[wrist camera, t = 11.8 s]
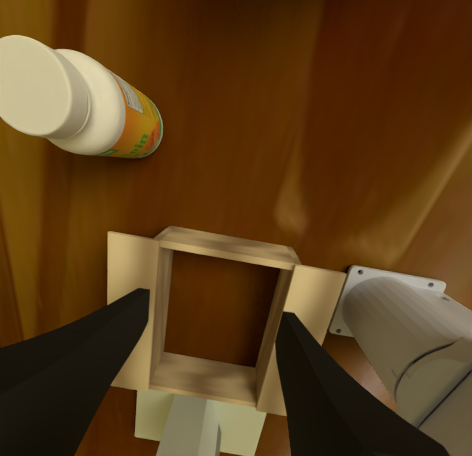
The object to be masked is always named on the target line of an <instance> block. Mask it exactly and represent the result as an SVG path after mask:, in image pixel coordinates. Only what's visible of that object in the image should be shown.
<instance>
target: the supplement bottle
mask: <svg viewBox="0 0 472 456" xmlns="http://www.w3.org/2000/svg"><path fill="white" fill-rule="evenodd" d="M0 117H1V118H2V119H3V120H4V121H5V122H6V123H8V124H9V125H10V126H12V127H13V128H15V129H16V130H18V131H20V132H23V133H25V134H28V135H32V136H38V137H43V138H47V139H48V140H49V141H51V142H52V143H53V144H55V145H56V146H58V147H60V148H61V149H64V150H66V151H69V152H72V153H76V154H82V155H94V156H109V157H122V158H142V157H146V156H148V155H150V154H151V153H152V152H154V151H155V150H156V148H157V147H158V146H159V144H160V142H161V139H162V134H163V123H162V119H161V116H160V113H159V111H158V109H157V108H156V106H155V105H154V103H153V102H152V101H151V100H150V99H149V98H148V97H146V96H145V95H144V94H142V93H141V92H140V91H138V90H137V89H135V88H134V87H133V86H131V85H130V84H128V83H127V82H125V81H124V80H123V79H121V78H120V77H118V76H117V75H115V74H114V73H113V72H111V71H110V70H108V69H107V68H106V67H104V66H103V65H101V64H100V63H98V62H97V61H95V60H94V59H92V58H90V57H89V56H87V55H85V54H83V53H80V52H77V51H73V50H68V49H58V50H53V49H51V48H49V47H47V46H46V45H44V44H42V43H40V42H38V41H36V40H34V39H32V38H29V37H25V36H19V35H12V36H6V37H3V38H1V39H0Z"/></svg>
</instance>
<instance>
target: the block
mask: <svg viewBox="0 0 472 456" xmlns="http://www.w3.org/2000/svg"><path fill="white" fill-rule="evenodd" d="M220 444H221V430H220V426H219V422H218V418H217V414H216V410H215V406H214V403H213V400H209V399H203V398H197V397H192V396H186V395H180V394H175V396H174V399H173V402H172V406H171V409H170V412H169V415H168V419H167V422H166V425H165V428H164V431H163V435H162V438H161V441H160V444H159V448H158V451H157V454H156V456H219V455H220Z"/></svg>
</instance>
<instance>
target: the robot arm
mask: <svg viewBox="0 0 472 456" xmlns="http://www.w3.org/2000/svg"><path fill="white" fill-rule="evenodd" d="M359 270H361V272H360V273H358V271H359ZM429 283H430V284H429ZM428 284H429V285H428ZM445 288H446V284H445V283H444V282H443V281H441V280H435V279H430V278H424V277H418V276H413V275H407V274H402V273H396V272H390V271H385V270H379V269H373V268H368V267H362V266H357V265H353V266H351V267H350V268H349V270H348V272H347V275H346V278H345V281H344V284H343V287H342V290H341V292H340V295H339V298H338V301H337V304H336V307H335V309H334V312H333V315H332V318H331V321H330V324H329V327H328V329H329V331H330V333H332V334H338V335H343V336H349V337H354V338H355V340H356V341H357V343H358V344H359V346H360V348H361V349H362V351H363V352H364V354H365V356H366V357H367V359H368V360H369V362H370V364H371V365H372V367H373V368H374V370H375V371H376V373H377V375H378V376H379V378H380V379H381V381H382V383H383V384H384V386H385V387H386V389H387V390H388V392H389V394H390V395H391V397H392V398H393V400H394V402H395V403H396V405H397V409H396V412H394V411H392V410H391V409H389V408H388V407H387V406H386V405H384V404H383V403H382V402H380V401H379V400H378V399H377V398H375V397H374V396H373V395H372V394H371V393H369V392H368V391H367V390H366V389H365V388H363V387H362V386H361V385H360V384H359V383H358V382H356V381H355V380H354V379H353V378H352V377H351V376H350V375H349V374H348V373H347V372H346V371H345V370H344V369H343V368H342V367H340V366H339V365H338V364H337V362H336V361H335V360H334V359H333V358H332V357H331V356H330V355H329V354H328V353H327V352H326V351H325V350H324V349H323V347H322V346H321V345H320V344H319V343H318V342H317V340H316V339H315V338H314V337H313V336H312V334H311V333H310V332H309V331H308V329H307V328H306V327H305V326H304V324H303V323H302V322H301V321H300V319H299V318H298V317H297V316H296V314H295V313H293V312H286V311H283V312H282V316H281V320H280V324H279V328H278V332H277V336H276V340H275V349H276V362H277V367H278V372H279V378H280V383H281V388H282V393H283V398H284V403H285V408H286V414H287V420H288V429H289V438H290V447H291V456H472V311H471V310H469V309H468V308H466V307H465V306H463V305H461V304H460V303H458V302H457V301H455V300H454V299H452V298H451V297H449V296H447V295H446V294H444V293H443V292H444V290H445ZM149 302H150V289H144V288H137V289H135V290H134V291H132V292H130V293H128V294H126V295H125V296H123V297H121V298H119V299H118V300H116V301H114V302H112V303H110V304H109V305H107V306H105V307H103V308H101V309H99V310H97V311H95V312H93V313H91V314H89V315H87V316H85V317H83V318H81V319H79V320H77V321H75V322H72V323H70V324H68V325H65V326H63V327H61V328H58V329H56V330H53V331H50V332H48V333H45V334H42V335H39V336H36V337H34V338H31V339H28V340H25V341H22V342H19V343H16V344H13V345H9V346H6V347H3V348H0V456H74V455H75V453H76V451H77V448H78V446H79V444H80V442H81V440H82V438H83V436H84V434H85V432H86V431H87V429H88V427H89V425H90V423H91V421H92V419H93V417H94V415H95V413H96V411H97V409H98V407H99V405H100V403H101V402H102V400H103V398H104V396H105V394H106V392H107V391H108V389H109V387H110V385H111V384H112V382H113V381H114V379H115V377H116V376H117V374H118V373H119V371H120V370H121V368H122V367H123V365H124V363H125V362H126V360H127V359H128V357H129V356H130V354H131V353H132V351H133V349H134V348H135V346H136V345H137V343H138V341H139V340H140V338H141V336H142V334H143V332H144V330H145V328H146V326H147V323H148V321H149ZM337 329H339V330H337Z"/></svg>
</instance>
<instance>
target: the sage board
mask: <svg viewBox="0 0 472 456" xmlns="http://www.w3.org/2000/svg"><path fill="white" fill-rule="evenodd" d="M174 396H175V394H174V393H169V392H163V391H157V390H151V389H149V390H148V392H144V391H139V390H137V406H136V423H135V437H139V438H145V439H150V440H156V441H161V438H162V435H163V431H164V428H165V425H166V422H167V419H168V415H169V412H170V409H171V406H172V402H173V399H174ZM213 403H214V406H215V410H216V414H217V418H218V422H219V426H220V430H221V444H220V452H226V453H232V454H237V455H243V456H254V454H255V451H256V448H257V444H258V441H259V437H260V434H261V431H262V427H263V424H264V420H265V417H266V414H267V413H265V412H260V411H256V408H255V407H249V406H243V405H238V404H232V403H226V402H220V401H215V400H213Z"/></svg>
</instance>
